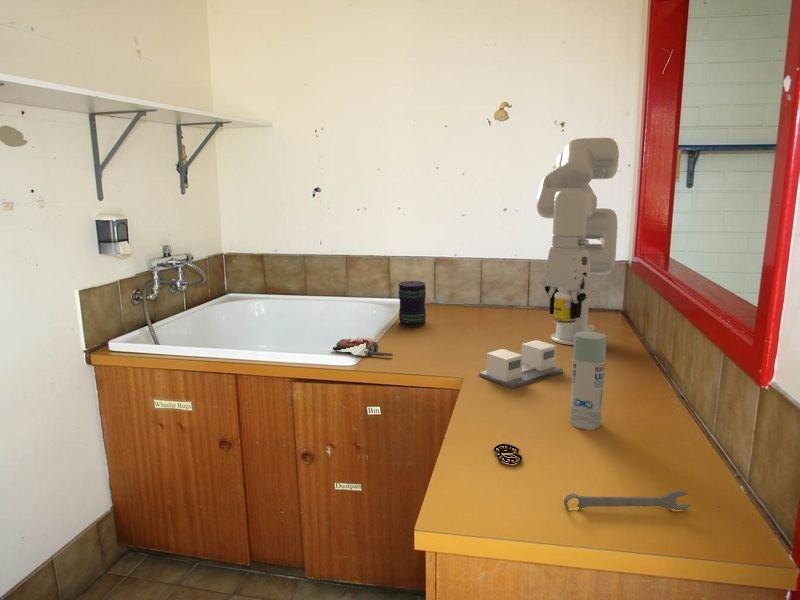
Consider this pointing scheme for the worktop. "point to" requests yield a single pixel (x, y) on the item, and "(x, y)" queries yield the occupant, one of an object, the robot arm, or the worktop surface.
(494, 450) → the corroded twin loop
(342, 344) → the red white elongated piece
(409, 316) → the storage jar
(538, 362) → the mounted modules
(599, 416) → the spray paint can
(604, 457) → the worktop surface
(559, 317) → the supplement bottle
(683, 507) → the combination wrench
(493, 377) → the rail plate
